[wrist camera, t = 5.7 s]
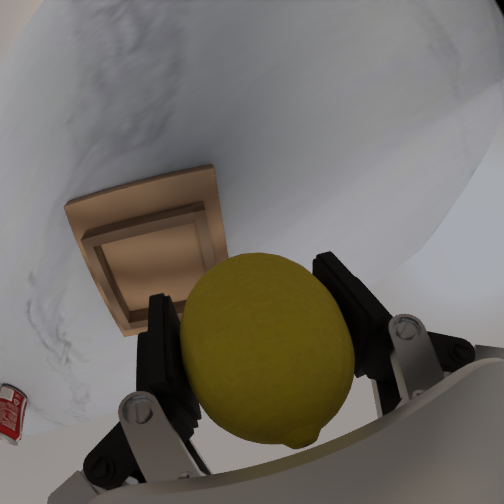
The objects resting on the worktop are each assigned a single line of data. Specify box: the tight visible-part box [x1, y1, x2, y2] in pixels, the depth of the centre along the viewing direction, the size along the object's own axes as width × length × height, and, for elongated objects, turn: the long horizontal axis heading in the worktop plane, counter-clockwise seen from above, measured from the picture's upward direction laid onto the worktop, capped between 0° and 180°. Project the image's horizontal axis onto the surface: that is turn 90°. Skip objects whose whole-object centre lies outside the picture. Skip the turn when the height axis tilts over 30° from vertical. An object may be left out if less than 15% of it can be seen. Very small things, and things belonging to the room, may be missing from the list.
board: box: [64, 164, 228, 337], centre depth 27 cm, size 18×15×4 cm
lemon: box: [180, 253, 355, 449], centre depth 9 cm, size 6×6×8 cm
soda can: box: [0, 385, 27, 445], centre depth 29 cm, size 7×7×12 cm
